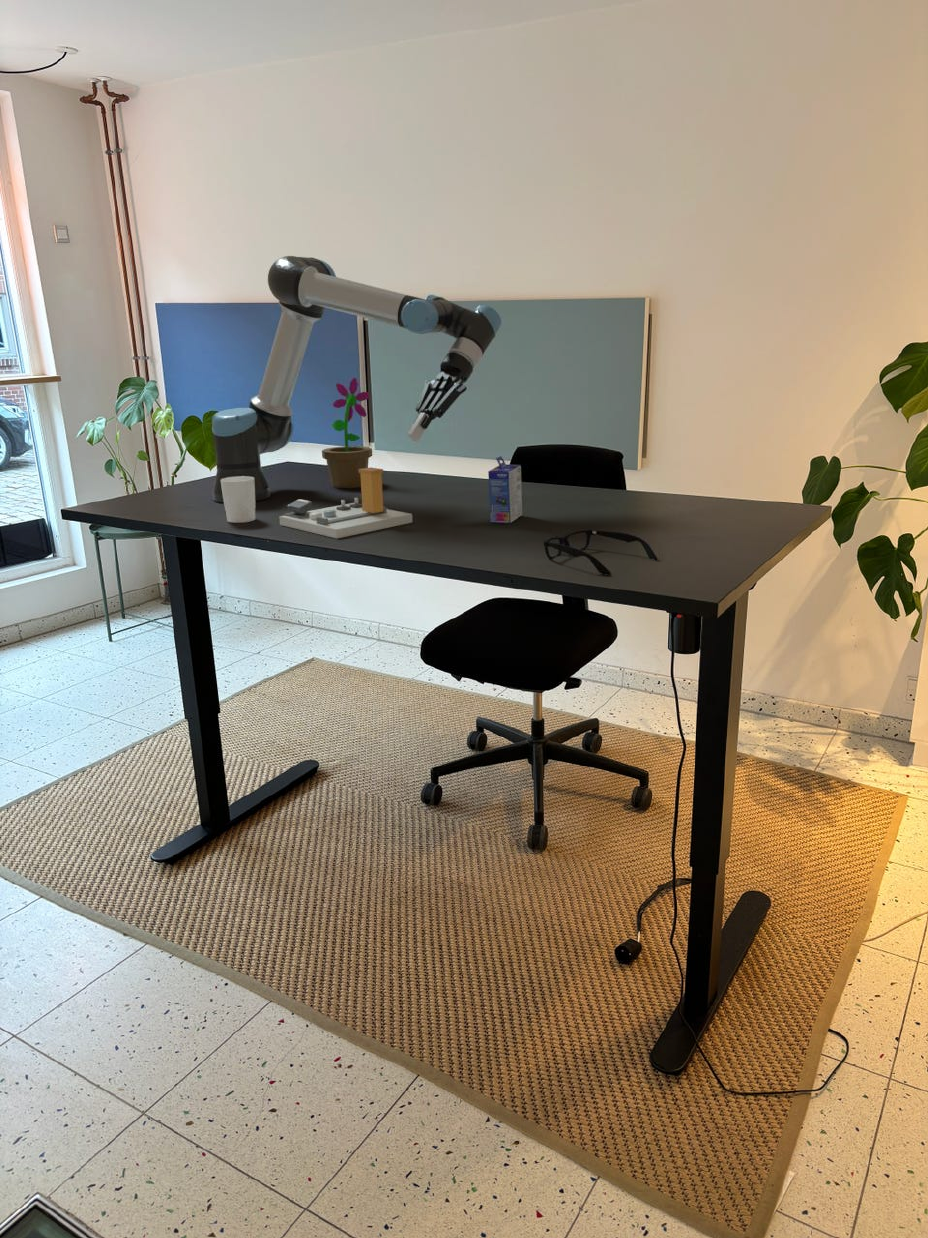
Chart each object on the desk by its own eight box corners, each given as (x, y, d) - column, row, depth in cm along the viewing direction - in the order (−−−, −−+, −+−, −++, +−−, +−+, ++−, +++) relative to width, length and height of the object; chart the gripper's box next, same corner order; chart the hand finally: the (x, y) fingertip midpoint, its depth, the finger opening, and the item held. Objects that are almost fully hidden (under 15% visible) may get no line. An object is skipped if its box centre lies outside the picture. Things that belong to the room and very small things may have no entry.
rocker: (288, 510, 215) (286, 504, 215) (300, 504, 217) (298, 498, 217) (301, 513, 212) (299, 507, 211) (313, 507, 214) (311, 501, 213)
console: (279, 524, 215) (277, 506, 214) (353, 510, 230) (352, 493, 228) (336, 538, 200) (335, 519, 199) (412, 522, 215) (411, 504, 213)
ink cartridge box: (500, 514, 222) (500, 453, 217) (522, 515, 220) (522, 454, 215) (488, 522, 213) (487, 459, 208) (511, 523, 211) (510, 460, 206)
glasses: (589, 551, 189) (588, 527, 188) (660, 561, 177) (661, 536, 175) (534, 566, 179) (533, 541, 177) (606, 578, 166) (606, 551, 165)
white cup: (264, 518, 223) (261, 477, 220) (244, 524, 216) (240, 482, 213) (238, 515, 226) (234, 475, 223) (217, 522, 220) (213, 480, 216)
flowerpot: (382, 482, 270) (377, 377, 261) (357, 490, 258) (351, 380, 248) (340, 479, 276) (334, 376, 267) (314, 487, 263) (306, 379, 254)
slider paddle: (360, 511, 215) (358, 469, 212) (372, 508, 217) (370, 467, 214) (373, 513, 212) (370, 471, 209) (385, 511, 214) (383, 469, 211)
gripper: (487, 372, 222) (439, 449, 216) (450, 371, 231) (403, 445, 225) (471, 350, 217) (422, 428, 211) (434, 350, 226) (385, 425, 220)
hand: (412, 437), depth 218 cm, fingers closed
